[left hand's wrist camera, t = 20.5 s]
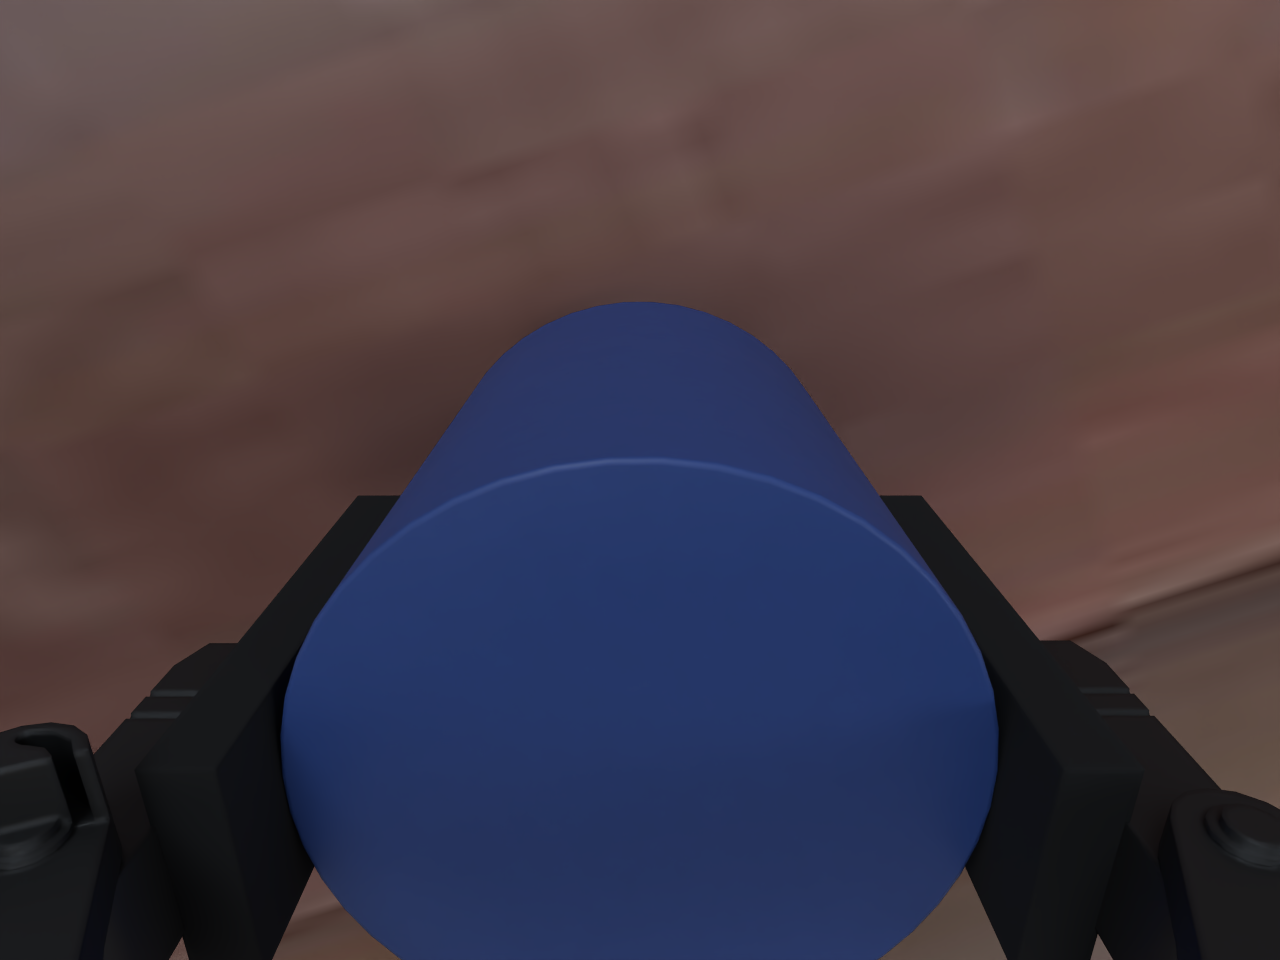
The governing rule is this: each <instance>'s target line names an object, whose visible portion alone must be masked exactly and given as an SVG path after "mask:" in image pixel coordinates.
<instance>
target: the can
mask: <svg viewBox="0 0 1280 960" xmlns="http://www.w3.org/2000/svg"><path fill="white" fill-rule="evenodd" d="M998 739H999V727H998V720H997V713H996V706H995V699H994V692H993V688H992V685H991V682H990V679H989V675H988V672H987V669H986V666H985V663H984V660H983V657H982V653H981V651H980V649H979V647H978V645H977V643H976V641H975V639H974V637H973V635H972V633H971V632H970V630H969V628H968V626H967V624H966V622H965V620H964V618H963V616H962V614H961V613H960V611H959V610H958V608H957V607H956V606H955V604H954V603H953V601H952V600H951V598H950V597H949V596H948V594H947V593H946V591H945V590H944V588H943V587H942V585H941V584H940V583H939V581H938V580H937V578H936V577H935V575H934V574H933V573H932V571H931V570H930V568H929V567H928V565H927V564H926V562H925V561H924V560H923V558H922V557H921V555H920V554H919V552H918V551H917V550H916V548H915V547H914V545H913V544H912V542H911V541H910V539H909V538H908V537H907V535H906V534H905V532H904V531H903V529H902V528H901V526H900V525H899V524H898V522H897V521H896V519H895V518H894V516H893V515H892V514H891V512H890V511H889V509H888V508H887V506H886V505H885V503H884V502H883V501H882V499H881V498H880V496H879V495H878V493H877V492H876V491H875V489H874V488H873V486H872V485H871V483H870V482H869V480H868V479H867V478H866V476H865V475H864V473H863V472H862V470H861V469H860V468H859V466H858V465H857V463H856V462H855V460H854V459H853V457H852V456H851V455H850V453H849V452H848V450H847V449H846V447H845V446H844V445H843V443H842V442H841V440H840V439H839V437H838V436H837V434H836V433H835V432H834V430H833V429H832V427H831V426H830V424H829V423H828V422H827V420H826V419H825V417H824V416H823V414H822V413H821V411H820V410H819V409H818V407H817V406H816V404H815V403H814V401H813V400H812V399H811V397H810V396H809V394H808V393H807V391H806V390H805V389H804V387H803V386H802V384H801V383H800V382H799V380H798V379H797V378H796V376H795V375H794V373H793V372H792V371H791V369H790V368H789V367H788V366H787V365H786V364H785V363H784V362H783V361H782V360H781V359H780V358H779V357H778V356H777V355H776V354H775V353H774V352H773V351H772V350H770V349H769V348H768V347H767V346H765V345H764V344H763V343H761V342H760V341H759V340H758V339H756V338H755V337H754V336H752V335H751V334H749V333H747V332H745V331H744V330H742V329H740V328H739V327H737V326H735V325H733V324H732V323H730V322H728V321H725V320H723V319H720V318H718V317H715V316H713V315H710V314H708V313H706V312H702V311H698V310H695V309H691V308H687V307H683V306H679V305H672V304H664V303H656V302H622V303H615V304H608V305H601V306H596V307H592V308H589V309H585V310H581V311H578V312H574V313H571V314H569V315H566V316H564V317H562V318H559V319H557V320H555V321H552V322H550V323H548V324H546V325H544V326H542V327H541V328H539V329H537V330H536V331H534V332H532V333H531V334H529V335H528V336H526V337H524V338H523V339H522V340H520V341H519V342H518V343H517V344H515V345H514V346H513V347H512V348H511V349H509V350H508V351H507V352H506V353H504V354H503V355H502V356H501V357H500V359H499V360H498V361H497V362H496V363H495V364H494V365H493V366H492V367H491V368H490V369H489V370H488V371H487V372H486V374H485V375H484V377H483V378H482V380H481V381H480V382H479V384H478V385H477V387H476V388H475V390H474V391H473V392H472V394H471V395H470V397H469V398H468V400H467V401H466V402H465V404H464V405H463V407H462V408H461V410H460V411H459V413H458V414H457V415H456V417H455V418H454V420H453V421H452V423H451V424H450V425H449V427H448V428H447V430H446V431H445V433H444V434H443V436H442V437H441V438H440V440H439V441H438V443H437V444H436V446H435V447H434V449H433V450H432V451H431V453H430V454H429V456H428V457H427V459H426V460H425V461H424V463H423V464H422V466H421V467H420V469H419V470H418V472H417V473H416V474H415V476H414V477H413V479H412V480H411V482H410V483H409V485H408V486H407V487H406V489H405V490H404V492H403V493H402V495H401V496H400V497H399V499H398V500H397V502H396V503H395V505H394V506H393V508H392V509H391V510H390V512H389V513H388V515H387V516H386V518H385V519H384V520H383V522H382V523H381V525H380V526H379V528H378V529H377V531H376V532H375V533H374V535H373V536H372V538H371V539H370V541H369V542H368V544H367V545H366V546H365V548H364V549H363V551H362V552H361V554H360V555H359V556H358V558H357V559H356V561H355V562H354V564H353V565H352V567H351V568H350V569H349V571H348V572H347V574H346V575H345V577H344V578H343V580H342V581H341V582H340V584H339V585H338V587H337V588H336V590H335V591H334V592H333V594H332V595H331V597H330V598H329V600H328V601H327V603H326V604H325V605H324V607H323V608H322V610H321V611H320V613H319V614H318V615H317V617H316V618H315V620H314V622H313V624H312V626H311V628H310V630H309V632H308V634H307V636H306V638H305V640H304V642H303V644H302V647H301V649H300V651H299V653H298V655H297V657H296V660H295V663H294V667H293V670H292V673H291V677H290V680H289V684H288V687H287V691H286V694H285V699H284V708H283V716H282V725H281V734H280V740H281V759H282V777H283V781H284V786H285V790H286V795H287V800H288V804H289V809H290V813H291V815H292V818H293V821H294V823H295V826H296V828H297V831H298V834H299V836H300V839H301V841H302V844H303V846H304V848H305V850H306V852H307V854H308V855H309V857H310V859H311V861H312V862H313V864H314V866H315V868H316V870H317V871H318V873H319V875H320V877H321V878H322V880H323V881H324V883H325V884H326V885H327V886H328V888H329V889H330V890H331V892H332V893H333V894H334V896H335V897H336V898H337V900H338V901H339V902H340V903H341V905H342V906H343V907H344V909H345V910H346V911H347V912H348V913H349V914H350V915H351V916H352V917H353V918H354V919H355V920H356V921H357V922H358V923H359V924H360V925H361V926H362V927H363V928H364V929H365V930H366V931H367V932H368V933H369V934H370V935H371V936H372V937H373V938H375V939H376V940H377V941H378V942H380V943H381V944H382V945H384V946H385V947H386V948H387V949H389V950H390V951H391V952H392V953H394V954H395V955H396V956H397V957H399V958H400V959H401V960H878V959H879V958H881V957H882V956H884V955H885V954H886V953H887V952H889V951H890V950H891V949H892V948H893V947H895V946H896V945H897V944H898V943H899V942H901V941H902V940H903V939H904V938H905V937H907V936H908V935H909V934H910V933H912V932H913V931H914V930H915V929H916V928H917V926H918V925H919V924H920V923H921V922H922V921H923V920H924V919H925V918H926V917H927V916H928V915H929V914H930V913H931V912H932V911H933V910H934V909H935V908H936V907H937V905H938V904H939V903H940V902H941V900H942V899H943V898H944V896H945V895H946V893H947V892H948V891H949V889H950V888H951V887H952V885H953V884H954V883H955V881H956V880H957V878H958V877H959V876H960V874H961V872H962V871H963V869H964V867H965V865H966V863H967V861H968V859H969V858H970V856H971V854H972V852H973V850H974V848H975V847H976V845H977V843H978V841H979V838H980V835H981V832H982V829H983V827H984V824H985V821H986V818H987V816H988V813H989V810H990V807H991V802H992V797H993V792H994V787H995V782H996V776H997V771H998Z"/></svg>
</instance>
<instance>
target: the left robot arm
mask: <svg viewBox="0 0 1280 960" xmlns="http://www.w3.org/2000/svg"><path fill="white" fill-rule="evenodd" d="M399 497H400V496H357V498H356V499H355V500H354V501H353V503H352V504H351V505H350V506H349V507H348V509H347V510H346V511H345V512H344V514H343V515H342V516H341V517H340V519H339V520H338V521H337V522H336V523H335V525H334V526H333V527H332V528H331V530H330V531H329V532H328V533H327V534H326V536H325V537H324V538H323V539H322V541H321V542H320V543H319V544H318V545H317V547H316V548H315V549H314V550H313V552H312V553H311V554H310V555H309V556H308V558H307V559H306V560H305V561H304V563H303V564H302V565H301V566H300V567H299V569H298V570H297V571H296V572H295V574H294V575H293V576H292V577H291V578H290V580H289V581H288V582H287V583H286V585H285V586H284V587H283V588H282V590H281V591H280V592H279V593H278V594H277V596H276V597H275V598H274V599H273V601H272V602H271V603H270V604H269V605H268V607H267V608H266V609H265V610H264V612H263V613H262V614H261V615H260V616H259V618H258V619H257V620H256V621H255V623H254V624H253V625H252V626H251V627H250V629H249V630H248V631H247V632H246V634H245V635H244V636H243V637H242V638H241V640H240V641H239V642H238V643H209V644H208V645H206V646H204V647H203V648H201V649H200V650H198V651H197V652H195V653H193V654H192V655H190V656H189V657H187V658H185V659H184V660H182V661H181V662H179V663H177V664H176V665H174V666H173V667H172V668H171V670H170V671H169V672H168V673H167V674H166V675H165V676H164V677H163V678H162V680H161V681H160V682H159V683H158V684H157V685H156V686H155V687H154V688H153V689H152V691H151V695H150V697H145V698H144V699H143V701H142V702H141V703H140V704H139V705H138V706H137V707H136V708H135V709H134V710H133V712H132V713H131V718H130V719H125V720H124V722H123V723H122V724H121V725H120V726H119V727H118V728H117V729H116V730H115V731H114V733H113V734H112V735H111V736H110V737H109V738H108V739H107V740H106V741H105V743H104V744H103V745H102V746H101V747H100V748H99V749H98V750H97V751H96V752H95V754H94V755H93V752H92V749H91V746H90V742H89V739H88V736H87V735H86V734H85V733H84V732H82V731H81V730H80V729H78V728H77V727H75V726H74V725H66V724H59V723H52V722H51V723H42V724H34V725H26V726H20V727H17V728H13V729H10V730H7V731H4V732H0V960H169V958H170V957H171V955H172V953H173V952H174V950H175V948H176V946H177V945H178V943H179V941H180V940H181V938H182V937H183V940H184V944H185V947H186V951H187V954H188V958H189V960H272V959H273V956H274V954H275V952H276V950H277V948H278V945H279V943H280V941H281V939H282V937H283V934H284V932H285V930H286V928H287V926H288V923H289V921H290V919H291V917H292V915H293V912H294V910H295V908H296V906H297V904H298V901H299V899H300V897H301V895H302V893H303V890H304V888H305V886H306V884H307V882H308V879H309V877H310V875H311V873H312V871H313V868H314V864H313V862H312V861H311V859H310V857H309V855H308V854H307V852H306V850H305V848H304V846H303V844H302V841H301V839H300V836H299V834H298V831H297V828H296V826H295V823H294V821H293V818H292V815H291V813H290V809H289V804H288V800H287V795H286V790H285V786H284V781H283V777H282V759H281V740H280V734H281V725H282V716H283V708H284V699H285V694H286V691H287V687H288V684H289V680H290V677H291V673H292V670H293V667H294V663H295V660H296V657H297V655H298V653H299V651H300V649H301V647H302V644H303V642H304V640H305V638H306V636H307V634H308V632H309V630H310V628H311V626H312V624H313V622H314V620H315V618H316V617H317V615H318V614H319V613H320V611H321V610H322V608H323V607H324V605H325V604H326V603H327V601H328V600H329V598H330V597H331V595H332V594H333V592H334V591H335V590H336V588H337V587H338V585H339V584H340V582H341V581H342V580H343V578H344V577H345V575H346V574H347V572H348V571H349V569H350V568H351V567H352V565H353V564H354V562H355V561H356V559H357V558H358V556H359V555H360V554H361V552H362V551H363V549H364V548H365V546H366V545H367V544H368V542H369V541H370V539H371V538H372V536H373V535H374V533H375V532H376V531H377V529H378V528H379V526H380V525H381V523H382V522H383V520H384V519H385V518H386V516H387V515H388V513H389V512H390V510H391V509H392V508H393V506H394V505H395V503H396V502H397V500H398V499H399ZM880 498H881V499H882V501H883V502H884V503H885V505H886V506H887V508H888V509H889V511H890V512H891V514H892V515H893V516H894V518H895V519H896V521H897V522H898V524H899V525H900V526H901V528H902V529H903V531H904V532H905V534H906V535H907V537H908V538H909V539H910V541H911V542H912V544H913V545H914V547H915V548H916V550H917V551H918V552H919V554H920V555H921V557H922V558H923V560H924V561H925V562H926V564H927V565H928V567H929V568H930V570H931V571H932V573H933V574H934V575H935V577H936V578H937V580H938V581H939V583H940V584H941V585H942V587H943V588H944V590H945V591H946V593H947V594H948V596H949V597H950V598H951V600H952V601H953V603H954V604H955V606H956V607H957V608H958V610H959V611H960V613H961V614H962V616H963V618H964V620H965V622H966V624H967V626H968V628H969V630H970V632H971V633H972V635H973V637H974V639H975V641H976V643H977V645H978V647H979V649H980V651H981V653H982V657H983V660H984V663H985V666H986V669H987V672H988V675H989V679H990V682H991V685H992V688H993V692H994V699H995V706H996V713H997V720H998V727H999V739H998V771H997V776H996V782H995V787H994V792H993V797H992V802H991V807H990V810H989V813H988V816H987V818H986V821H985V824H984V827H983V829H982V832H981V835H980V838H979V841H978V843H977V845H976V847H975V848H974V850H973V852H972V854H971V856H970V858H969V859H968V861H967V863H966V865H965V867H966V870H967V872H968V874H969V876H970V878H971V881H972V883H973V885H974V887H975V889H976V892H977V894H978V896H979V898H980V900H981V903H982V905H983V907H984V909H985V911H986V914H987V916H988V918H989V920H990V922H991V925H992V927H993V929H994V931H995V933H996V936H997V938H998V940H999V942H1000V944H1001V947H1002V949H1003V951H1004V953H1005V955H1006V958H1007V960H1090V959H1091V955H1092V952H1093V948H1094V945H1095V941H1096V938H1097V935H1099V936H1100V938H1101V940H1102V941H1103V943H1104V945H1105V946H1106V948H1107V950H1108V952H1109V953H1110V955H1111V957H1112V958H1113V960H1280V809H1278V808H1276V807H1274V806H1273V805H1271V804H1269V803H1267V802H1264V801H1261V800H1258V799H1255V798H1252V797H1249V796H1247V795H1244V794H1241V793H1238V792H1233V791H1226V790H1221V789H1220V788H1219V786H1218V785H1217V784H1216V783H1215V782H1214V781H1213V780H1212V779H1211V778H1210V777H1209V775H1208V774H1207V773H1206V772H1205V771H1204V770H1203V769H1202V768H1201V767H1200V766H1199V765H1198V763H1197V762H1196V761H1195V760H1194V759H1193V758H1192V757H1191V756H1190V755H1189V754H1188V752H1187V751H1186V750H1185V749H1184V748H1183V747H1182V746H1181V745H1180V744H1179V743H1178V741H1177V740H1176V739H1175V738H1174V737H1173V736H1172V735H1171V734H1170V733H1169V732H1168V730H1167V729H1166V728H1165V727H1164V726H1163V725H1162V724H1161V723H1160V722H1159V721H1158V719H1157V718H1156V717H1155V716H1150V715H1149V710H1148V709H1147V707H1146V706H1145V705H1144V704H1143V703H1142V702H1141V701H1140V700H1139V699H1138V698H1137V696H1136V695H1135V694H1130V692H1129V688H1128V687H1127V685H1126V684H1125V683H1124V682H1123V681H1122V680H1121V679H1120V678H1119V677H1118V676H1117V674H1116V673H1115V672H1114V671H1113V670H1112V669H1111V668H1110V667H1109V666H1108V665H1107V663H1105V662H1104V661H1102V660H1101V659H1099V658H1097V657H1096V656H1094V655H1093V654H1091V653H1089V652H1088V651H1086V650H1085V649H1083V648H1081V647H1080V646H1078V645H1077V644H1075V643H1073V642H1072V641H1040V640H1039V639H1038V638H1037V637H1036V636H1035V634H1034V633H1033V632H1032V631H1031V629H1030V628H1029V627H1028V626H1027V625H1026V623H1025V622H1024V621H1023V620H1022V618H1021V617H1020V616H1019V615H1018V614H1017V612H1016V611H1015V610H1014V609H1013V607H1012V606H1011V605H1010V604H1009V602H1008V601H1007V600H1006V599H1005V598H1004V596H1003V595H1002V594H1001V593H1000V591H999V590H998V589H997V588H996V587H995V585H994V584H993V583H992V582H991V580H990V579H989V578H988V577H987V576H986V574H985V573H984V572H983V571H982V569H981V568H980V567H979V566H978V565H977V563H976V562H975V561H974V560H973V558H972V557H971V556H970V555H969V554H968V552H967V551H966V550H965V549H964V547H963V546H962V545H961V544H960V542H959V541H958V540H957V539H956V538H955V536H954V535H953V534H952V533H951V531H950V530H949V529H948V528H947V527H946V525H945V524H944V523H943V522H942V520H941V519H940V518H939V517H938V516H937V514H936V513H935V512H934V511H933V509H932V508H931V507H930V506H929V505H928V503H927V502H926V501H925V500H924V498H923V497H922V496H880Z"/></svg>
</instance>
